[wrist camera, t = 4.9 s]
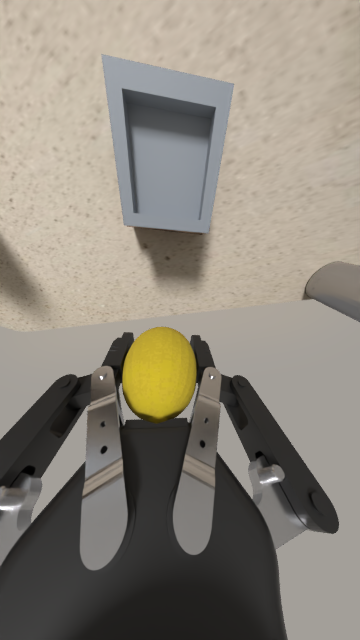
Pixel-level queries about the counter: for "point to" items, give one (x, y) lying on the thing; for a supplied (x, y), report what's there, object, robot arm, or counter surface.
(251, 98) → the counter surface
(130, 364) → the lemon
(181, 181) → the slate cup block
